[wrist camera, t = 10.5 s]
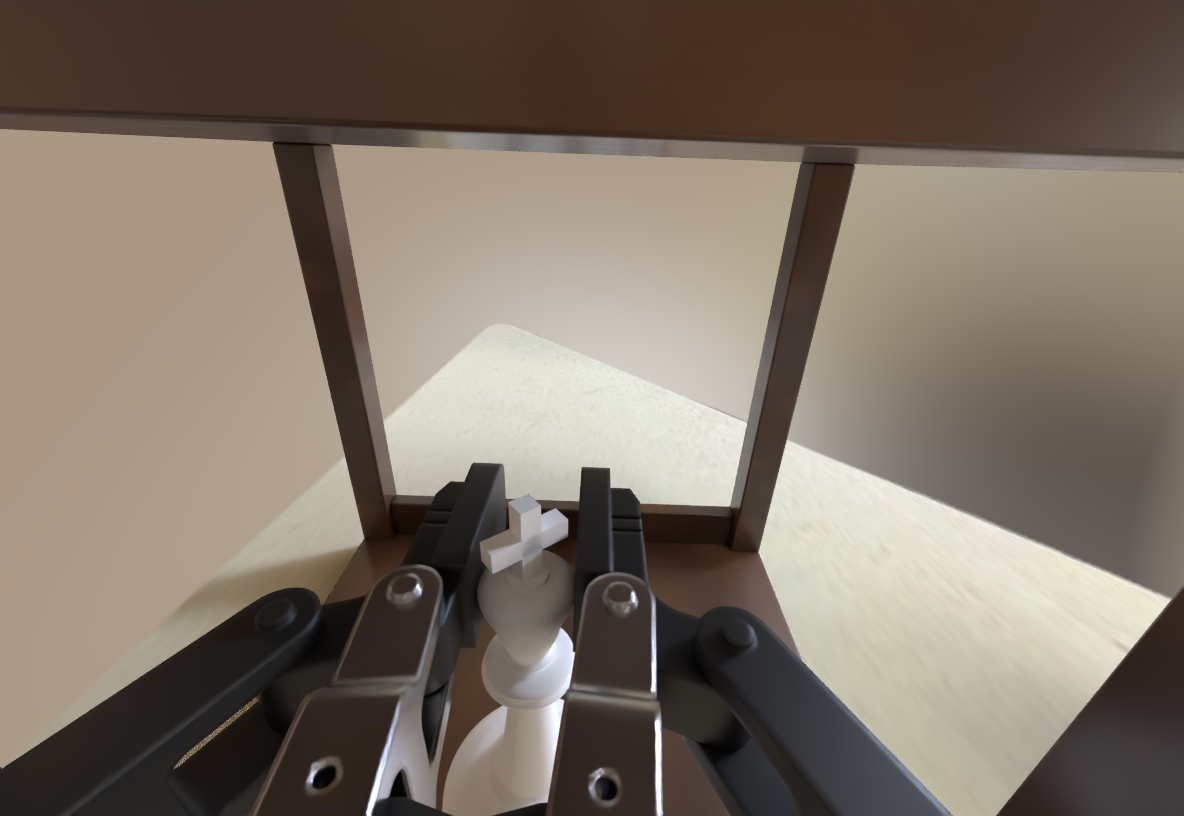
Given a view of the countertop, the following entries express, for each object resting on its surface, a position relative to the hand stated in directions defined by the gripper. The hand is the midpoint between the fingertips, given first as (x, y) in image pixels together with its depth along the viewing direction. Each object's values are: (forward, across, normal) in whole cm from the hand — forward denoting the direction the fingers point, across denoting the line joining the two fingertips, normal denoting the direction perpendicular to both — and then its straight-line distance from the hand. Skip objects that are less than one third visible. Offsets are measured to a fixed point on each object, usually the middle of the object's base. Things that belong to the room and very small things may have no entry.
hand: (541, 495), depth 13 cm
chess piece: (-3, 0, +8) cm, 9 cm away
